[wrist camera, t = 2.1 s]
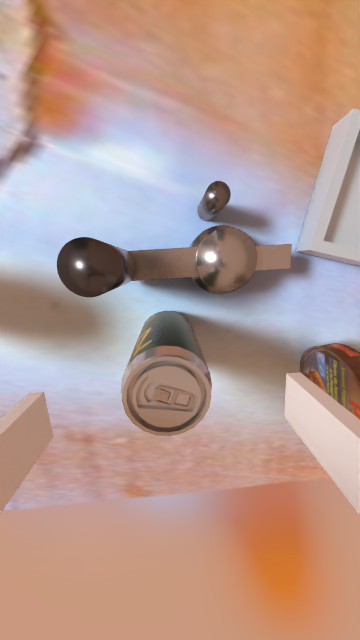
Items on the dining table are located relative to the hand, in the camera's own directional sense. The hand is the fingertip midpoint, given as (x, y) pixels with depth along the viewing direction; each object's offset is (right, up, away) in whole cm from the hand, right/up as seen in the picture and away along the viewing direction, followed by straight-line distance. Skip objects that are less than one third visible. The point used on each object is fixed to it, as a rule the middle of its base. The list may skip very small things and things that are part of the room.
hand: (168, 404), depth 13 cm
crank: (+2, +10, +8) cm, 13 cm away
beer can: (-1, +3, +12) cm, 12 cm away
